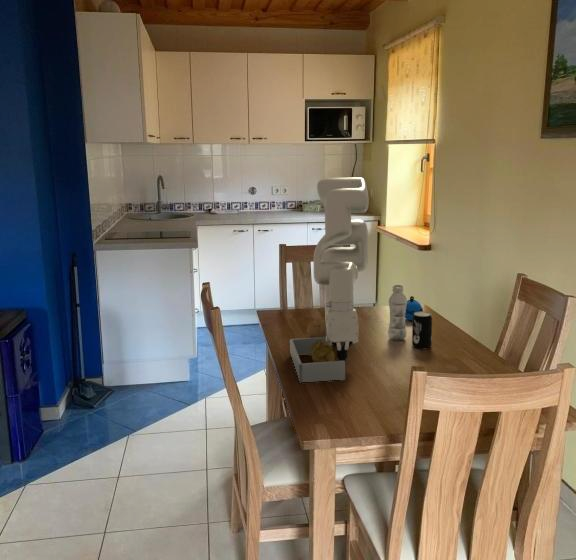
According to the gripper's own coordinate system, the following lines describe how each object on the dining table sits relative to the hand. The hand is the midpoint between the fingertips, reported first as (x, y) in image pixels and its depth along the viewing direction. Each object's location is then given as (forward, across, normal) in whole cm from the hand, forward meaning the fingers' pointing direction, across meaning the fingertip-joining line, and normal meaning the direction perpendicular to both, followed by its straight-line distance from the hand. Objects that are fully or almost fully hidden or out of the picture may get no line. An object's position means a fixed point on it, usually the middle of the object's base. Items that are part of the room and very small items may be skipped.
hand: (342, 360), depth 180 cm
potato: (+2, -6, 0) cm, 7 cm away
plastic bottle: (+2, +25, +21) cm, 33 cm away
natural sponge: (+2, -4, +20) cm, 21 cm away
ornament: (+2, +38, +43) cm, 58 cm away
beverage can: (+2, +31, +12) cm, 33 cm away
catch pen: (+2, -8, 0) cm, 9 cm away
